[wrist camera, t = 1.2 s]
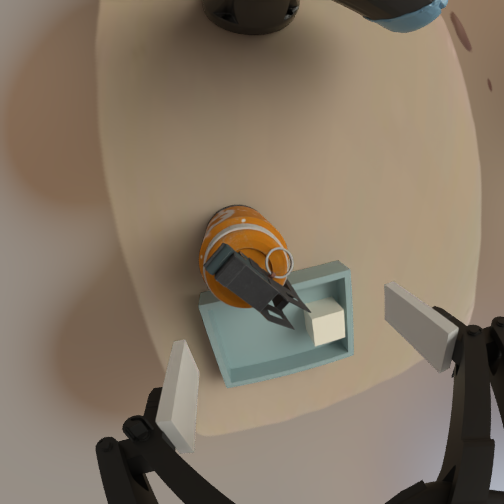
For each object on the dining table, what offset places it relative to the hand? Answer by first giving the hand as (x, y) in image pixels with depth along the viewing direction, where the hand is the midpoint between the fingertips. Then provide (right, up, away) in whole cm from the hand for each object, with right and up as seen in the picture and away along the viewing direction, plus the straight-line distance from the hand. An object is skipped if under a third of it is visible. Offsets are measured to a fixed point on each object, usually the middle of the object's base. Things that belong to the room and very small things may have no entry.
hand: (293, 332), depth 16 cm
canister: (-4, +7, +24) cm, 25 cm away
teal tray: (+2, -6, +28) cm, 28 cm away
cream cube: (+8, -5, +27) cm, 29 cm away
